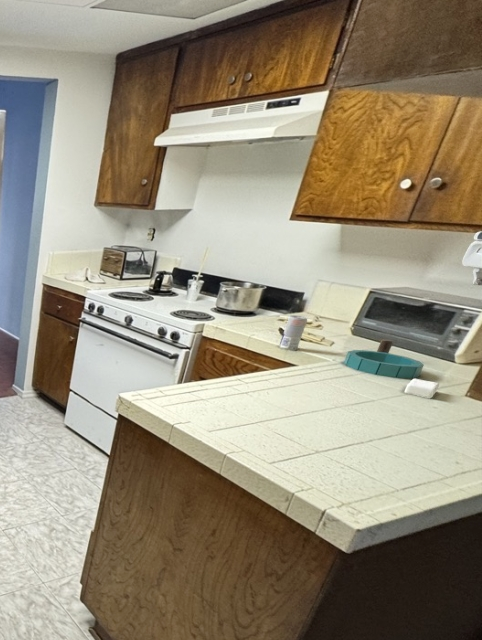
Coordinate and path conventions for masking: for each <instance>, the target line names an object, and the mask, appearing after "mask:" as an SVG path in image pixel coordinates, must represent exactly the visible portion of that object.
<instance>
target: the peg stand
mask: <svg viewBox="0 0 482 640" xmlns="http://www.w3.org/2000/svg"><path fill="white" fill-rule="evenodd" d="M393 344H394V340H392V339H386V338H382V339H381V341H380V343H379V345H378V347H377V350H376V352H384V353H390V351H391V348H392V347H393Z"/></svg>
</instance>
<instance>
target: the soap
mask: <svg viewBox="0 0 482 640" xmlns="http://www.w3.org/2000/svg"><path fill="white" fill-rule="evenodd" d="M439 387H440V383H438V382H434V381H428V380H425V379H424V380H423V379H418V378H412V380H411V381H410V382H409V383H408V384H407V385H406V387H405V389H404V394H407V395H408V394H409V395H410V396H416V397H420V398H425V399H432V398H433V397H434V396H435V394H436V392H437V391H438V388H439Z"/></svg>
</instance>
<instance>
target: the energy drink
mask: <svg viewBox="0 0 482 640" xmlns="http://www.w3.org/2000/svg"><path fill="white" fill-rule="evenodd" d="M307 322H308V317H307V316H303V315H289V316H288V318H287V321H286V324H285V328H284V330H283V332H282V333H283V334H282V336H281V339H280V342H279V345H278V347H279V348H280V349H282V350H287V351H288V350H289V351H296V350H298V347H299V345H300V342H301V339H302V337H303V335H304V330H305V328H306V325H307Z"/></svg>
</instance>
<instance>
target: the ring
mask: <svg viewBox="0 0 482 640" xmlns="http://www.w3.org/2000/svg"><path fill="white" fill-rule="evenodd" d="M343 364H344V365H345V366H346V367H348V368H351V369H353V370H356V371H359V372H362V373H367V374H371V375H376V376H380V377H381V376H382V377H388V378H394V379H416V378H419V376H420V374H421V372H422V370H423V368H424V366H425V364H423V362H421V361H420V360H417V359H414V358H411V357H408V356H403V355H399V354H394V353H390V352H389V353H384V352H377V350H367V349H366V350H363V349H362V350H361V349H354V350H347V352H346V355H345V358H344V361H343Z"/></svg>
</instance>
